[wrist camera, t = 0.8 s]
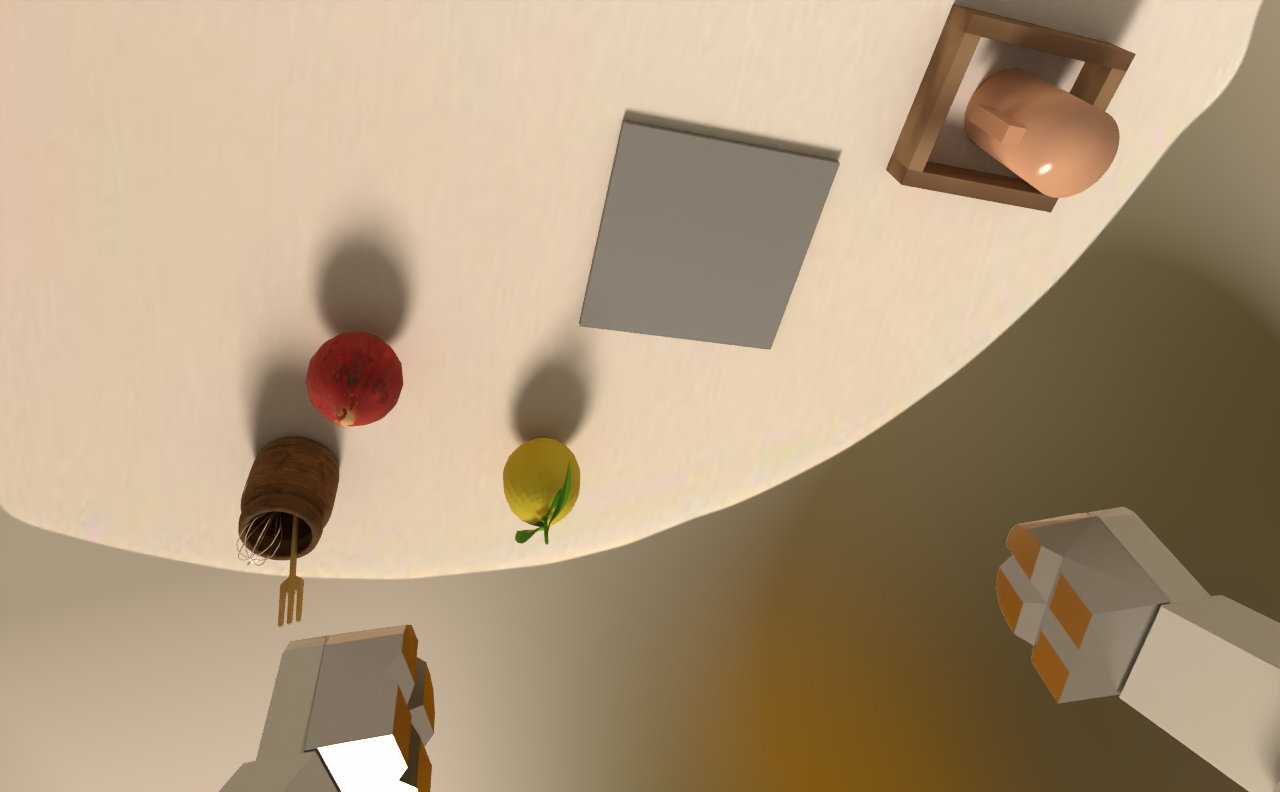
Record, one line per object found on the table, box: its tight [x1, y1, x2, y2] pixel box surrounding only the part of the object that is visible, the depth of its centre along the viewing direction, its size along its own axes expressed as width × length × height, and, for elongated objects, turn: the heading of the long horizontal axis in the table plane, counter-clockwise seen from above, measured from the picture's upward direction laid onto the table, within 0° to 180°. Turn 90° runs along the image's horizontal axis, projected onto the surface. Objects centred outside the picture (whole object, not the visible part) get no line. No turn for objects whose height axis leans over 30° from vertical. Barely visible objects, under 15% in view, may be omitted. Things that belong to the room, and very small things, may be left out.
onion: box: [306, 332, 403, 427], centre depth 52 cm, size 6×6×8 cm
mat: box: [579, 120, 840, 350], centre depth 54 cm, size 14×14×1 cm
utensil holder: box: [236, 438, 339, 627], centre depth 56 cm, size 6×6×12 cm
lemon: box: [503, 438, 580, 544], centre depth 58 cm, size 7×6×10 cm
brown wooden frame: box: [886, 5, 1136, 212], centre depth 51 cm, size 10×11×2 cm
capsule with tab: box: [965, 69, 1119, 198], centre depth 49 cm, size 5×6×8 cm
